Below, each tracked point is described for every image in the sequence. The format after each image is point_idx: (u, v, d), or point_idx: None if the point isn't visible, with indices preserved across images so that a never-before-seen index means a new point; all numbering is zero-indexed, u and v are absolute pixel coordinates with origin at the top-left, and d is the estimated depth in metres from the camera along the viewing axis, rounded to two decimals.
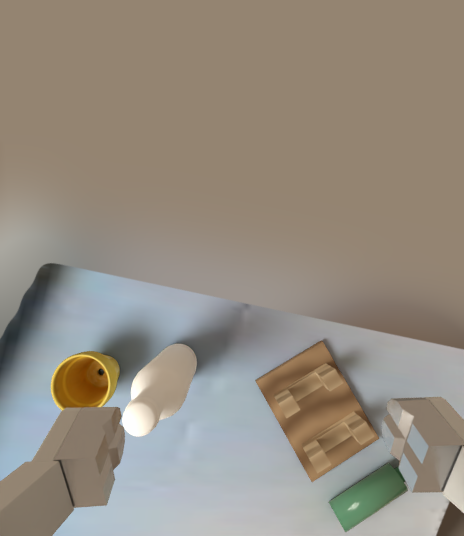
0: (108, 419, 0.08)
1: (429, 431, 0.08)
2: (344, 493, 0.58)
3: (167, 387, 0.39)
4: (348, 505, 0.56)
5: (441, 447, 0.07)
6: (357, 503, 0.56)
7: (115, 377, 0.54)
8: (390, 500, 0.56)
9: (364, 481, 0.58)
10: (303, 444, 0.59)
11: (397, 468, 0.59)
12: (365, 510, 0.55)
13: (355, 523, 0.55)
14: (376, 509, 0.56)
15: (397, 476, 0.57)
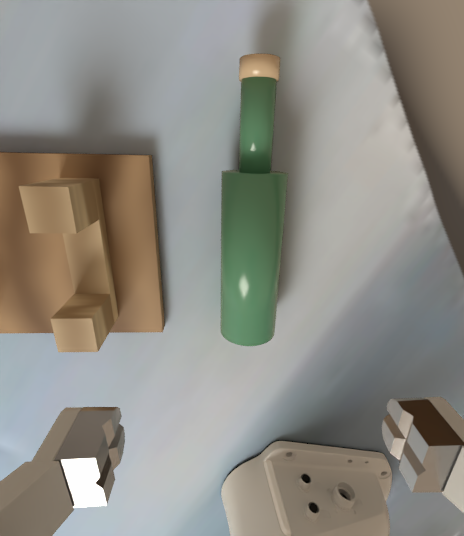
0: (108, 419, 0.08)
1: (429, 431, 0.08)
2: (222, 299, 0.26)
3: None
4: (240, 315, 0.25)
5: (441, 447, 0.07)
6: (246, 298, 0.24)
7: None
8: (280, 226, 0.23)
9: (223, 250, 0.24)
10: None
11: (241, 160, 0.22)
12: (265, 290, 0.24)
13: (272, 316, 0.26)
14: (276, 265, 0.24)
15: (251, 180, 0.21)
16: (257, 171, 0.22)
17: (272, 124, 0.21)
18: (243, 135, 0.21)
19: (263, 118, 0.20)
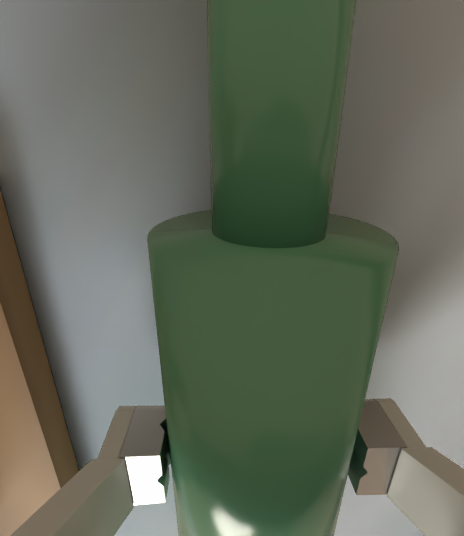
0: (165, 417, 0.08)
1: (371, 433, 0.08)
2: None
3: None
4: None
5: (381, 449, 0.07)
6: None
7: None
8: (333, 449, 0.06)
9: None
10: None
11: None
12: None
13: None
14: None
15: (189, 286, 0.05)
16: (252, 238, 0.05)
17: (335, 27, 0.04)
18: (209, 94, 0.05)
19: None
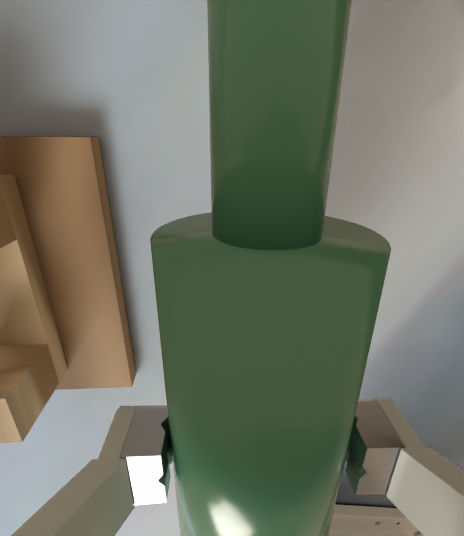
0: (165, 417, 0.08)
1: (371, 433, 0.08)
2: None
3: None
4: None
5: (381, 449, 0.07)
6: None
7: None
8: (333, 439, 0.06)
9: None
10: None
11: None
12: None
13: None
14: (313, 531, 0.07)
15: (198, 289, 0.05)
16: (254, 241, 0.06)
17: (332, 43, 0.05)
18: (210, 102, 0.05)
19: (279, 9, 0.04)
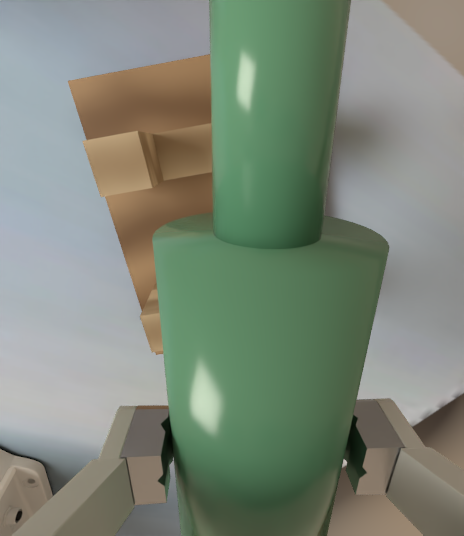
0: (165, 417, 0.08)
1: (371, 433, 0.08)
2: None
3: None
4: None
5: (381, 449, 0.07)
6: None
7: None
8: (332, 435, 0.06)
9: None
10: None
11: None
12: None
13: None
14: (312, 527, 0.07)
15: (199, 287, 0.05)
16: (254, 240, 0.06)
17: (331, 45, 0.05)
18: (212, 103, 0.06)
19: (279, 12, 0.04)
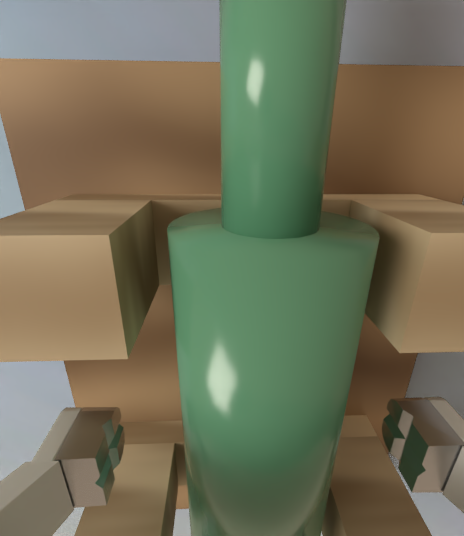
0: (108, 419, 0.08)
1: (429, 431, 0.08)
2: None
3: None
4: None
5: (441, 447, 0.07)
6: None
7: None
8: (337, 401, 0.07)
9: None
10: None
11: (222, 189, 0.07)
12: None
13: None
14: (319, 489, 0.08)
15: (225, 274, 0.06)
16: (266, 231, 0.06)
17: (331, 61, 0.05)
18: (223, 109, 0.06)
19: (290, 32, 0.05)
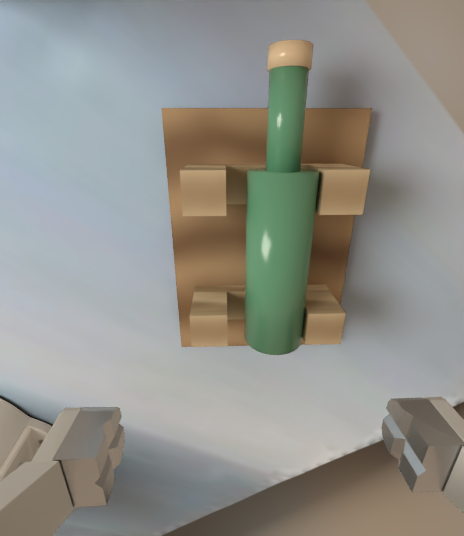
0: (108, 419, 0.08)
1: (429, 431, 0.08)
2: (246, 305, 0.25)
3: None
4: (266, 323, 0.23)
5: (441, 447, 0.07)
6: (273, 305, 0.23)
7: None
8: (310, 229, 0.21)
9: (248, 254, 0.23)
10: (199, 287, 0.28)
11: (268, 157, 0.20)
12: (293, 297, 0.22)
13: (300, 323, 0.24)
14: (305, 270, 0.22)
15: (279, 180, 0.19)
16: (286, 170, 0.20)
17: (303, 118, 0.19)
18: (271, 131, 0.19)
19: (294, 112, 0.19)
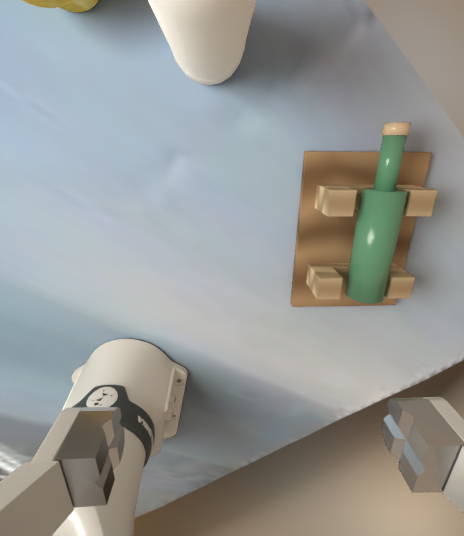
0: (108, 419, 0.08)
1: (429, 431, 0.08)
2: (352, 273, 0.39)
3: None
4: (368, 282, 0.38)
5: (441, 447, 0.07)
6: (374, 271, 0.37)
7: None
8: (400, 224, 0.36)
9: (359, 240, 0.37)
10: (312, 264, 0.43)
11: (378, 183, 0.35)
12: (387, 266, 0.37)
13: (386, 284, 0.39)
14: (394, 249, 0.37)
15: (389, 196, 0.34)
16: (389, 190, 0.35)
17: (401, 161, 0.34)
18: (382, 168, 0.34)
19: (398, 158, 0.33)
